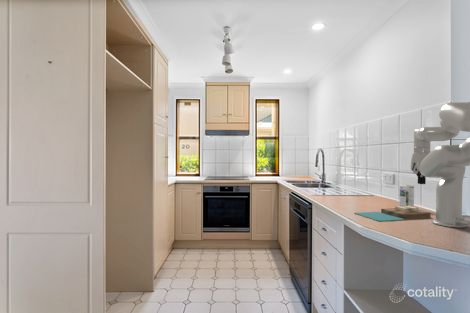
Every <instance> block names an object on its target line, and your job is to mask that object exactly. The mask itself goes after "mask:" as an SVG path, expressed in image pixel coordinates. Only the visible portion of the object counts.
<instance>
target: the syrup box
mask: <svg viewBox="0 0 470 313" xmlns="http://www.w3.org/2000/svg"><path fill="white" fill-rule="evenodd" d="M398 195H399V196H398V199H399V200H398V206H412V207H415V204H414V203H415V186H414V185H409V184H408V185H407V184H399V193H398Z"/></svg>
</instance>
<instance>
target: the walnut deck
mask: <svg viewBox="0 0 470 313" xmlns="http://www.w3.org/2000/svg"><path fill="white" fill-rule="evenodd" d="M380 213H384V214H388V215H391V216H395V217H398V218H402V219H405V220H407V219H410V220H411V219H427V218H429V219H430V218H431V214H432V213H431V212H428V211H424V210H419V209H418V212H402V211H398V210H395V207H394V208H390V207H389V208H381V209H380Z"/></svg>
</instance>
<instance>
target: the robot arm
mask: <svg viewBox="0 0 470 313" xmlns="http://www.w3.org/2000/svg"><path fill="white" fill-rule="evenodd" d="M438 116H439V119H440V120H439V124H440V126H423V127H421V128H418V129H414V131H413V153H412V155H411V160H410V171H411V172H412V174H415V175H416V177H417V185H426V182H427V181H426V179H427V178H430V179H431V178H433V179H434V178H436V179H437V178H438V179H439V178H440V179H439V181H438V182H437V183H436V189H435V192H436V193H435V218H433V219H432V220H431V223H432V224H435V225H439V226H442V227H448V228H459V229H460V228H466V227H467V226H470V220H467V219H465V216H463V182H464V177H465V173H466V167H469V166H470V137H468V138H466V140H465V141H463V142H462V143H460V144H443V145H439V146H436V147H435V148H433V149H432V151H431V142H447V141H449V140H452V139H454V138H455V137H458V135H459V134H460V132H466V133H469V132H470V102H469V101H468V102H467V101H463V102H460V101H459V102H455V101H454V102H447V103H446V104H444V105H443V106H442V107H441V108H440V110H439V115H438Z"/></svg>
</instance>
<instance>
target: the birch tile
mask: <svg viewBox="0 0 470 313" xmlns="http://www.w3.org/2000/svg"><path fill="white" fill-rule="evenodd" d="M394 208H395V210H398V211H402V212H418V210H419V207H416V206H414V207H412V206H399V205H398V206H397V205H396V206H394Z"/></svg>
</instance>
